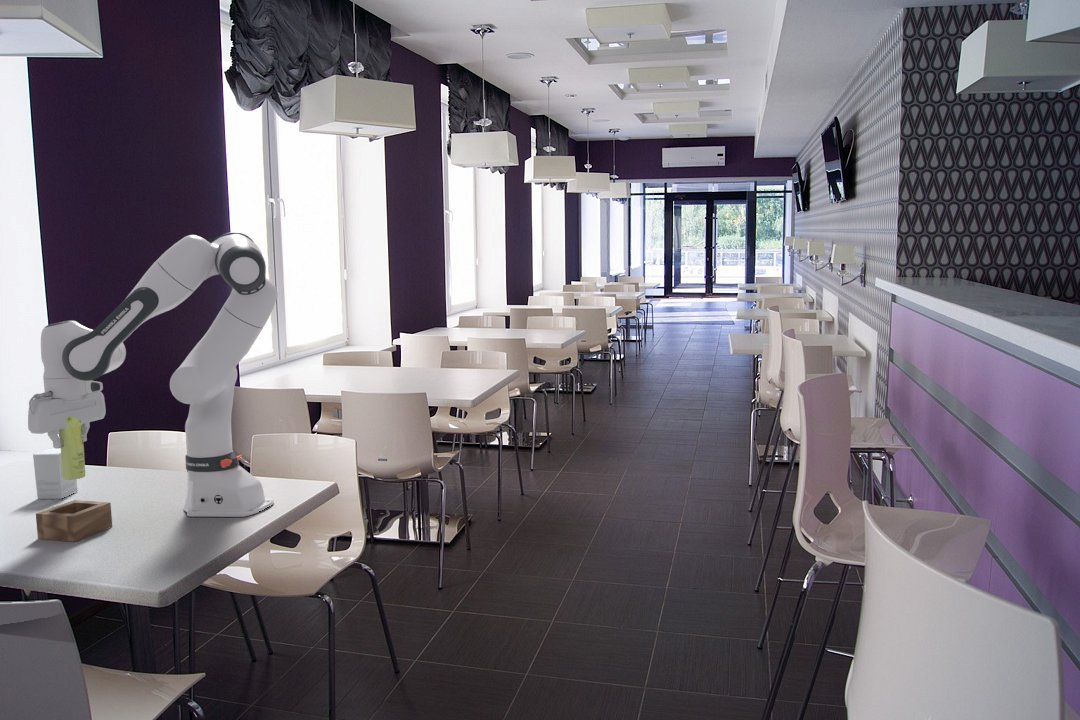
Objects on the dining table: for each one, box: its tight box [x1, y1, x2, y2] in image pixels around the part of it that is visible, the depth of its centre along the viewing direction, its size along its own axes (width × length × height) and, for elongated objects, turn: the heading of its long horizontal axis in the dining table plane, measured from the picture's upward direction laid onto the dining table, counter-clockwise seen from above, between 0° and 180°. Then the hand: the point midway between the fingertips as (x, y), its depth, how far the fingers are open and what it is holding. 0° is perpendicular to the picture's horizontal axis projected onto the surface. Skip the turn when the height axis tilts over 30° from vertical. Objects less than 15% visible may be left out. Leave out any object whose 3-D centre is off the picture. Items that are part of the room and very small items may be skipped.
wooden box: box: [35, 499, 113, 543], centre depth 206 cm, size 11×12×6 cm
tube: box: [58, 410, 86, 480], centre depth 210 cm, size 6×5×20 cm
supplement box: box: [32, 448, 78, 500], centre depth 239 cm, size 7×7×13 cm
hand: (70, 444), depth 210 cm, fingers closed on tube, 6 cm apart
